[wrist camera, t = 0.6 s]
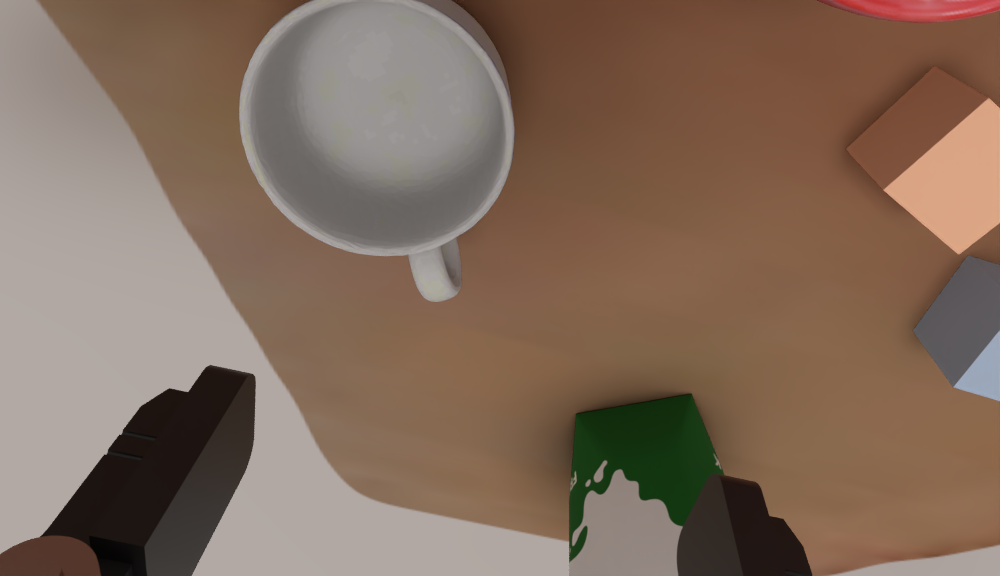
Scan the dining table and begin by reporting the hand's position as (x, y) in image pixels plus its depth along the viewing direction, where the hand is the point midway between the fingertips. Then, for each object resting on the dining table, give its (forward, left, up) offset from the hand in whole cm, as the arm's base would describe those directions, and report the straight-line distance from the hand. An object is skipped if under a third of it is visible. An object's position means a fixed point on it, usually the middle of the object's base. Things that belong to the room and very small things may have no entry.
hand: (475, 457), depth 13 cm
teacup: (+5, -3, -26) cm, 26 cm away
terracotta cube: (-9, +17, -26) cm, 32 cm away
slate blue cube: (-5, +27, -26) cm, 37 cm away
